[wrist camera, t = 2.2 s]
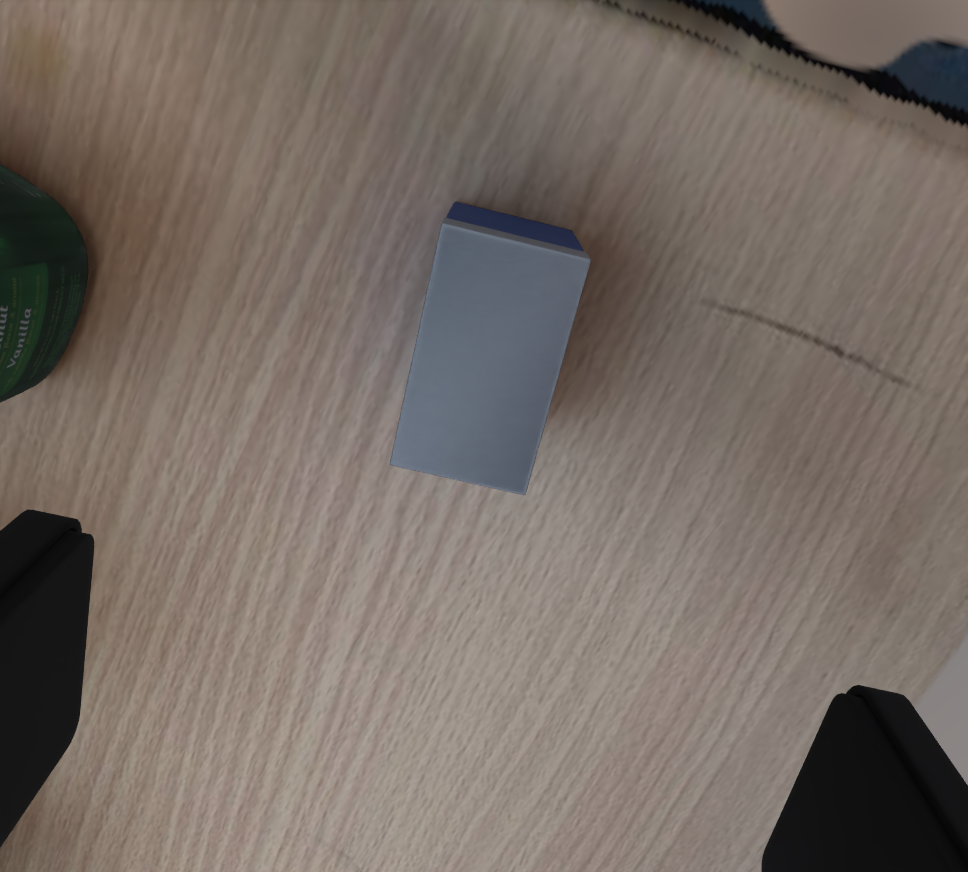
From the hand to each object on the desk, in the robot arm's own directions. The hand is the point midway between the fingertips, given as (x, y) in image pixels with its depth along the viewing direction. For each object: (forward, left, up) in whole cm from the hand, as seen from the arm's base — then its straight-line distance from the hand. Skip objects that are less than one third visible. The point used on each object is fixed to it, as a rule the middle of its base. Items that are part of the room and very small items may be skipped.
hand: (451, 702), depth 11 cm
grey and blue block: (0, 0, -20) cm, 20 cm away
